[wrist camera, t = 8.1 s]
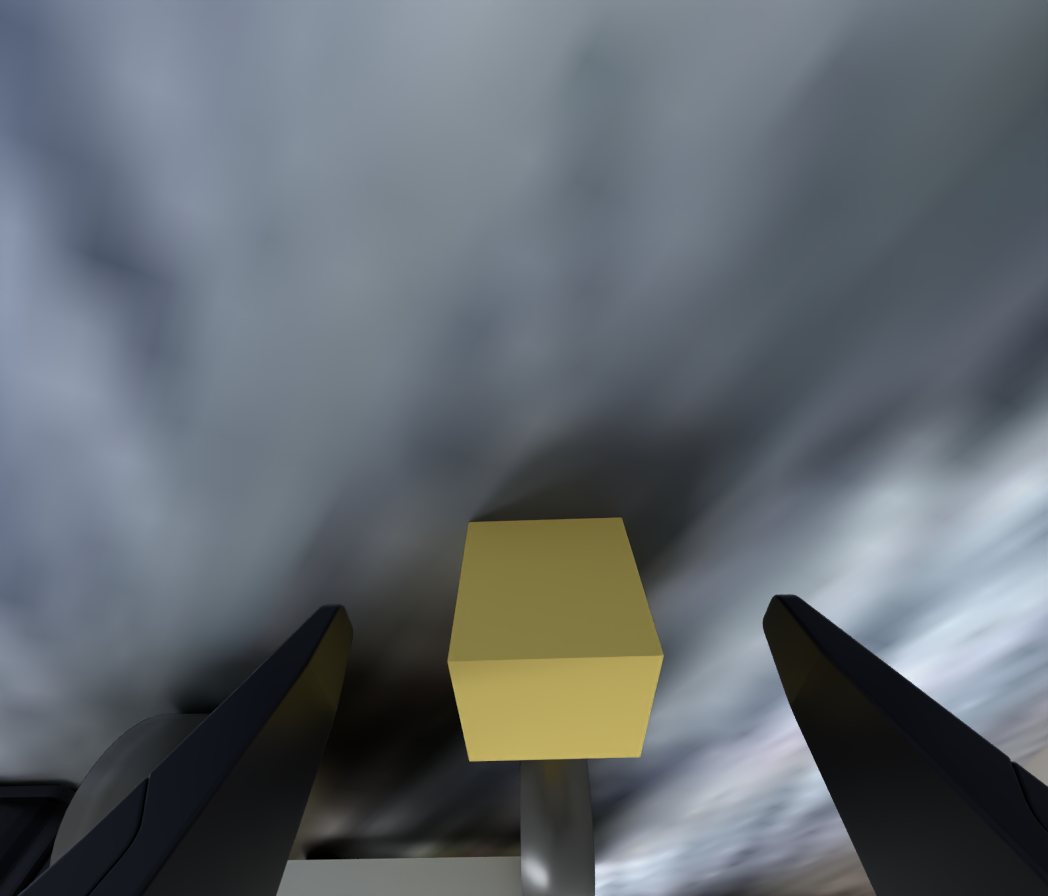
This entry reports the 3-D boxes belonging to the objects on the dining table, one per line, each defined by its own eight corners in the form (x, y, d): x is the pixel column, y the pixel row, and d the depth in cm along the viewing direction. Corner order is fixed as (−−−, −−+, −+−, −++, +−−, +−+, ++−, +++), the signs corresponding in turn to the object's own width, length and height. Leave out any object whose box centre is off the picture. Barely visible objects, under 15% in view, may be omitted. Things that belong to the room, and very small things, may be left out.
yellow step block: (487, 652, 14) (477, 797, 11) (469, 518, 11) (447, 661, 8) (605, 649, 14) (631, 793, 11) (620, 513, 11) (663, 655, 8)
